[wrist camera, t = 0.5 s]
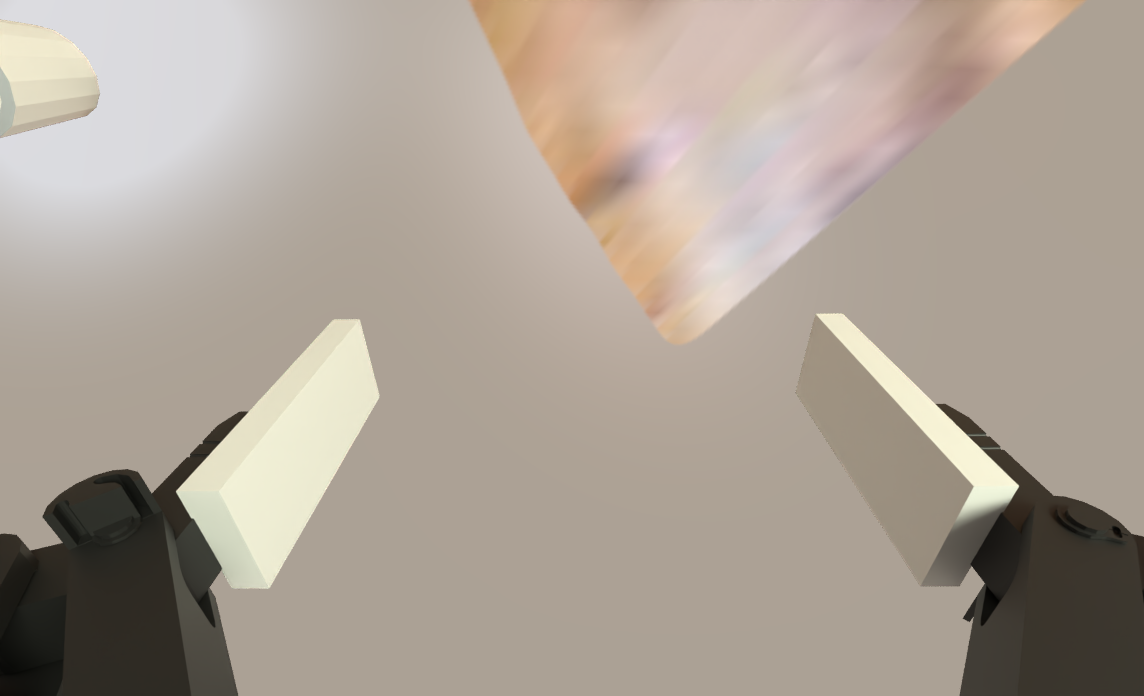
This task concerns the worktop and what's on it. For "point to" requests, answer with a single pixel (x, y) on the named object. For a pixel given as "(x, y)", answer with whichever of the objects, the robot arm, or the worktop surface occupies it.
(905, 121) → the worktop surface
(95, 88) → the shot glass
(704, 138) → the worktop surface
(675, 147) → the worktop surface
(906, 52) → the worktop surface
